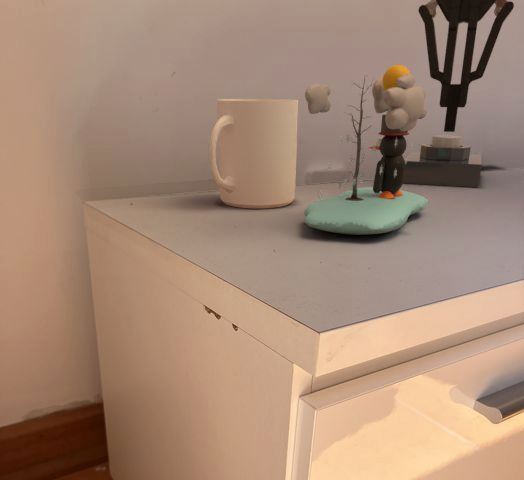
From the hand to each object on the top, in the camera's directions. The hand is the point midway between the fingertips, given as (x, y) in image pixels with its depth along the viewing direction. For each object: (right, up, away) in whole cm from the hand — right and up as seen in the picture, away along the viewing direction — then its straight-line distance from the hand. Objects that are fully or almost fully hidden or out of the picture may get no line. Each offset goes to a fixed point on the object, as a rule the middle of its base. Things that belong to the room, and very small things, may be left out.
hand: (449, 131), depth 87 cm
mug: (-30, -16, -16) cm, 37 cm away
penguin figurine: (-17, -20, -25) cm, 36 cm away
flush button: (0, -2, +1) cm, 3 cm away
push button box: (0, -6, +3) cm, 7 cm away
